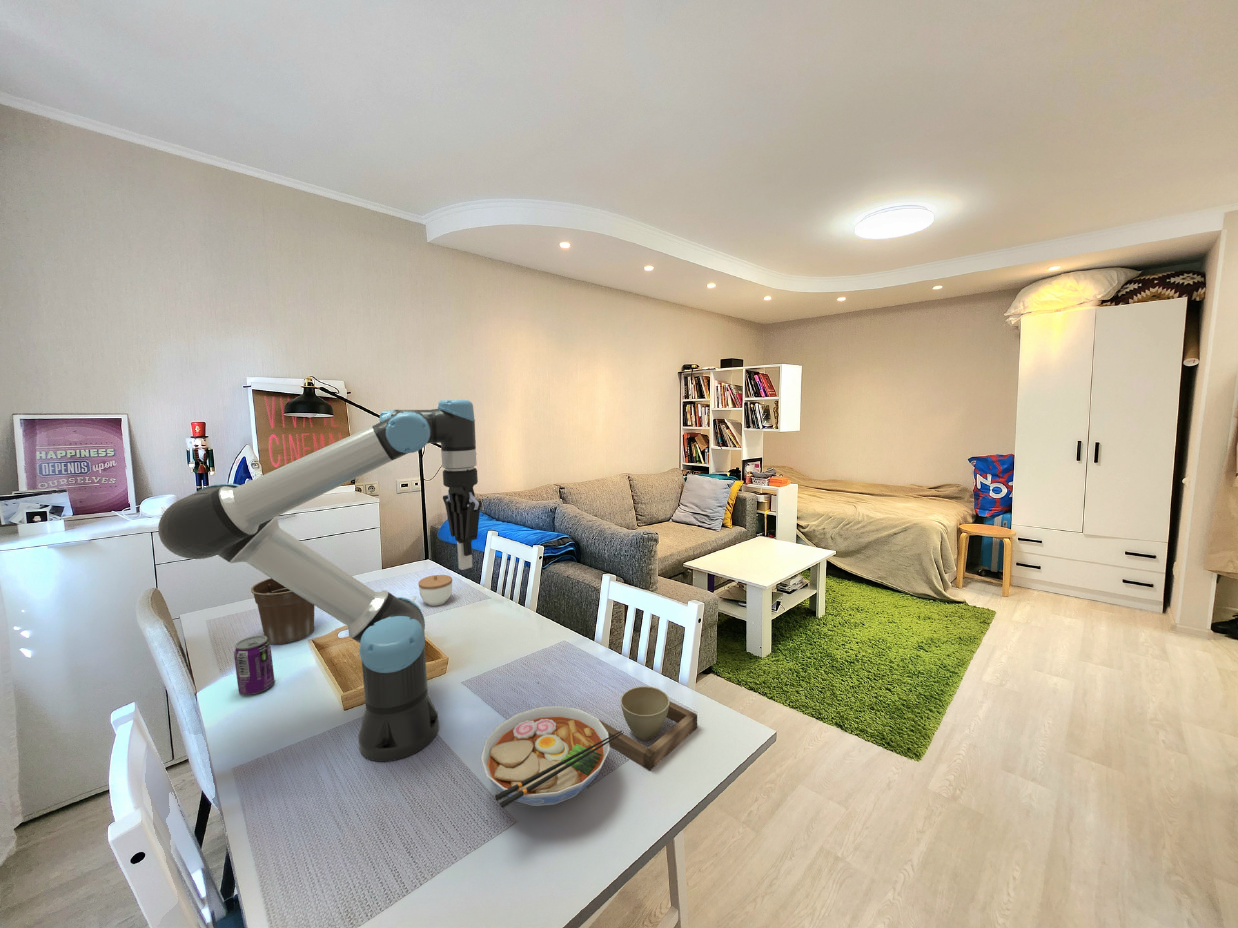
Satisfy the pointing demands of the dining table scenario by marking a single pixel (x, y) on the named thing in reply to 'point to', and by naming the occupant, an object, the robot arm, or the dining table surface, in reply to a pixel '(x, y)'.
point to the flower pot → (645, 710)
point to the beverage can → (253, 665)
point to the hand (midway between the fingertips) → (465, 567)
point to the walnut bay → (659, 748)
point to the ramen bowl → (545, 755)
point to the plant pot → (282, 612)
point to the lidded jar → (435, 589)
